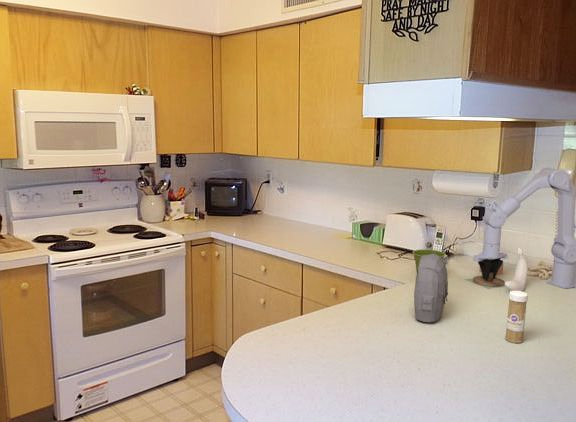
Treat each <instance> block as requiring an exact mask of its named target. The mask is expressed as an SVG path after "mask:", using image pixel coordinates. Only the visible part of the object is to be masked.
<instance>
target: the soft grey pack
mask: <svg viewBox="0 0 576 422" xmlns="http://www.w3.org/2000/svg"><path fill="white" fill-rule="evenodd" d="M448 284H449V281H448V271H447V267H446V263H445V261H444V259H442V258H441V257H440V256H438V255H436V254H430V255H423V256H422V258H421V259H420V263H419V267H418V272H417V271H416V277H415V284H414V289H413V290H414V291H413V292H414V293H413V300H414V301H413V305H414V306H413V307H414V317H415V319H417V320H418V321H420V322H423V323H434V322H437V321H438V320H439V319H440V318H441V316H442V314H443V312H444V307H445V305H446V302H448V295H449V292H448V291H449V285H448Z"/></svg>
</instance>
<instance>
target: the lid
mask: <svg viewBox="0 0 576 422" xmlns="http://www.w3.org/2000/svg"><path fill="white" fill-rule="evenodd" d="M472 279H473V282H474V283H476V284H475V285H477V284H479V285H483V286H489V287H499V288H502V287H501V286H504V284H505V282H506V281H505V280H503V279H501V278H498V277H495V279H493V272H489V278H488V280H485V279H483V277H482V275H478V276H477V275H476V276H474V277H472ZM474 283H473V284H474ZM479 285H478V286H479Z"/></svg>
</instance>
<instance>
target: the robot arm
mask: <svg viewBox="0 0 576 422" xmlns="http://www.w3.org/2000/svg"><path fill="white" fill-rule="evenodd" d="M549 188H551V189H552V190H554V191H555V192H556V193H557V194H558V195H557V227H556V231H557V234H556V236H555V237H554V238H553V244H552V246H551V247H550V253H551V254H552V256H553V262H552V271H551V280H547V281H545V283H546V284H549V285H551V286H555V287H558V288H561V289H569V288H570V289H571V288H576V237H575V219H576V218H575V215H576V212H575V210H576V186H575V185H574V183H573V181H572V180H571V175H570V174H569V173H568V172H567V171H565V170H564V169H560V168H558V169H557V168H551V167H544V168H542V169H541V170H540V171H539V172H537V173H535V174H534V176H533V177H532V178H531V179H530V180H529V181H528V182H527V183H526V184H524V186H523V187H521V189H519V190H518V191H517V192H516V193H515V194H514V195H508V196H504V197H503V198H502V200H501V201H500V203H498V204H497V205H496V206H493V207H492V209H489V210H487V211H486V212H485V213H484V216H482V221H483V222H484V233H483V243H482V244H483V247H482V252H481V253H479V254H475V255H473V259H472V260H473V261H474V262H476V263H478V266H479V269H480V268H481V276H482V277H483V279H485V280H488V278H489V272H493V279H495V278H497V276H498V275H497V272H498V270H499V268H500V266H501V265H502V264H503V265H504V260H505V259H506V260H507V259H508V253H507V252H501V251H500V250H501V240H502V239H501V238H502V227H503V226H504V225H505V223H506V220H507V219H508V218H509V217H511V216H512V214H514V213H515V212H516V211H518V210H519V209H520V208H521V204H522V202H523V201H525V200H526V199H527V198H529V197H530V196H531V195H533V194H534V193H535V192H537V191H538V190H540V189H549ZM502 259H504V260H502Z"/></svg>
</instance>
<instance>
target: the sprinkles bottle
mask: <svg viewBox="0 0 576 422" xmlns="http://www.w3.org/2000/svg"><path fill="white" fill-rule="evenodd" d="M528 298H529V295H528V293H527V292H524V291H509V293H508V300H509V301H508V309H507V311H508V312H507V316H506V317H507V318H506V326H505V327H506V329H505V330H506V331H505V337H504V339H505V340H506V341H507V342H509V343H513V344H522V343H523V342H524V339H523V338H524V330H525V324H526V323H525V322H526V313H527V312H526V311H527V302H528Z"/></svg>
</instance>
